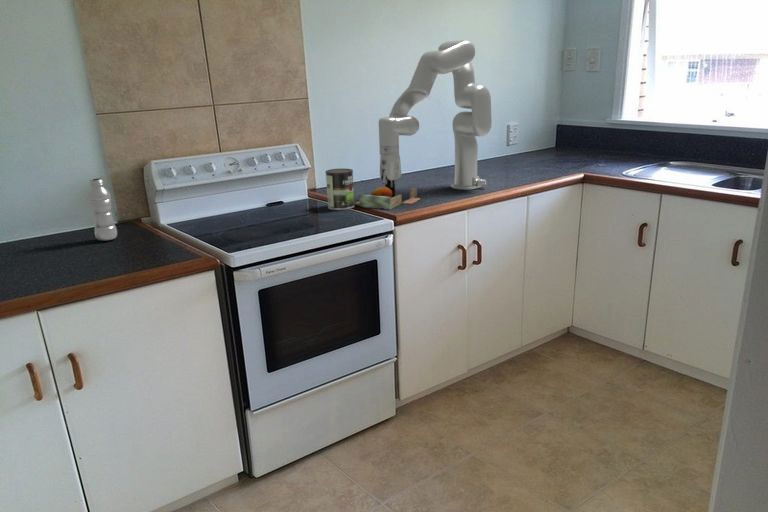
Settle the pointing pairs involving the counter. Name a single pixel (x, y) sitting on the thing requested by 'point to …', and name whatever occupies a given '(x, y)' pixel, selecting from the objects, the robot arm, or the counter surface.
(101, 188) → the plastic bottle
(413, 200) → the trap marks
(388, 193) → the fruit
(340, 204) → the coffee can
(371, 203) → the trap box
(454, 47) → the robot arm
